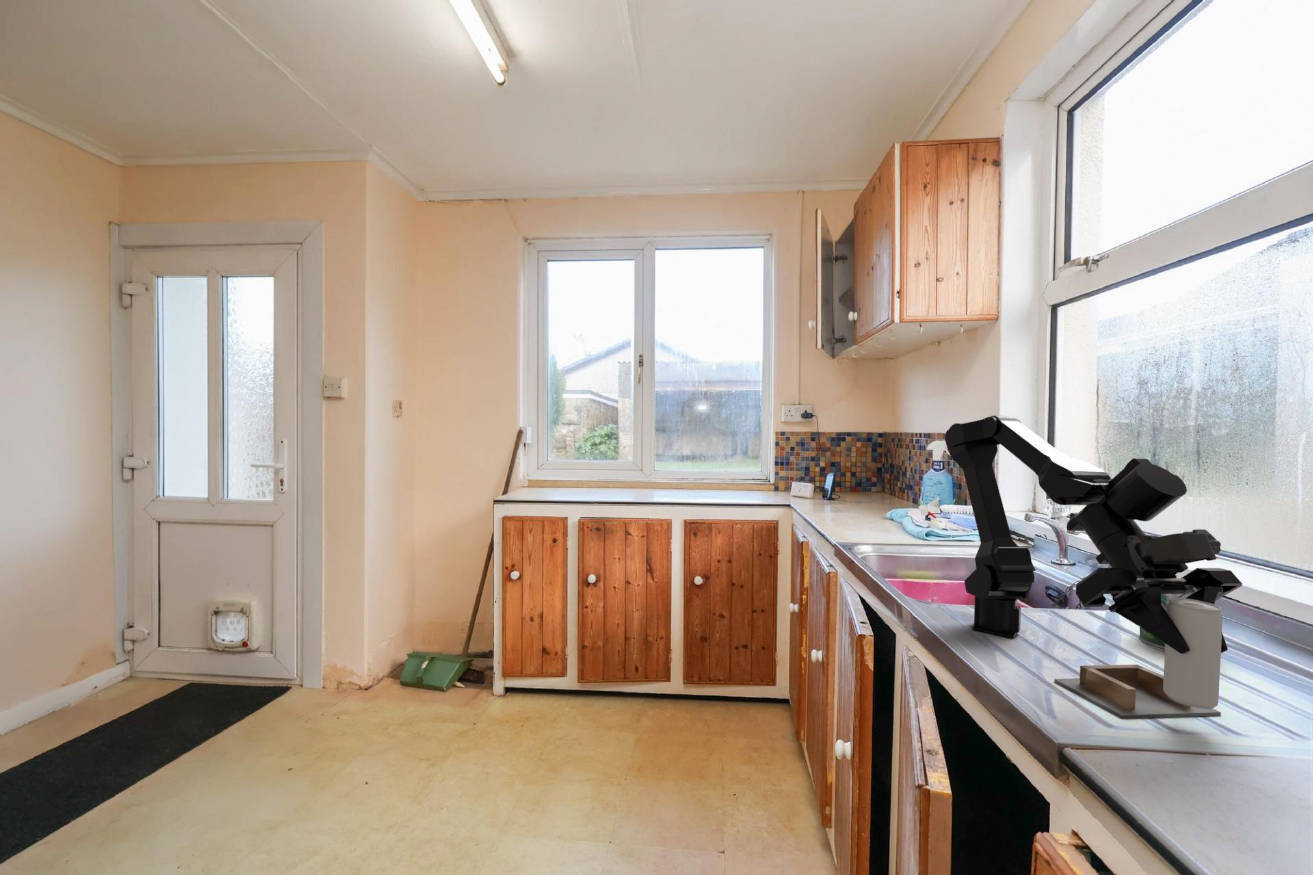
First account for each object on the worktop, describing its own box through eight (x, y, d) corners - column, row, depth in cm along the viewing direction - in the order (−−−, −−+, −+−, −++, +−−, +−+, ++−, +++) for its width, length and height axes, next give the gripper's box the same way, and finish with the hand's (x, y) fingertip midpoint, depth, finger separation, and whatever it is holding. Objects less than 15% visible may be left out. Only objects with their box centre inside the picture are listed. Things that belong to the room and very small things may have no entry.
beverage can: (1229, 713, 63) (1235, 612, 63) (1181, 708, 64) (1186, 607, 64) (1197, 694, 68) (1202, 599, 67) (1152, 689, 68) (1157, 595, 68)
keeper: (1054, 681, 77) (1054, 661, 77) (1141, 679, 78) (1142, 659, 78) (1121, 718, 67) (1122, 695, 67) (1220, 715, 68) (1221, 692, 68)
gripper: (1099, 505, 68) (1189, 623, 57) (1228, 507, 70) (1339, 621, 59) (1045, 552, 76) (1116, 663, 65) (1162, 553, 78) (1250, 661, 67)
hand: (1204, 652), depth 64 cm, fingers closed on beverage can, 5 cm apart
